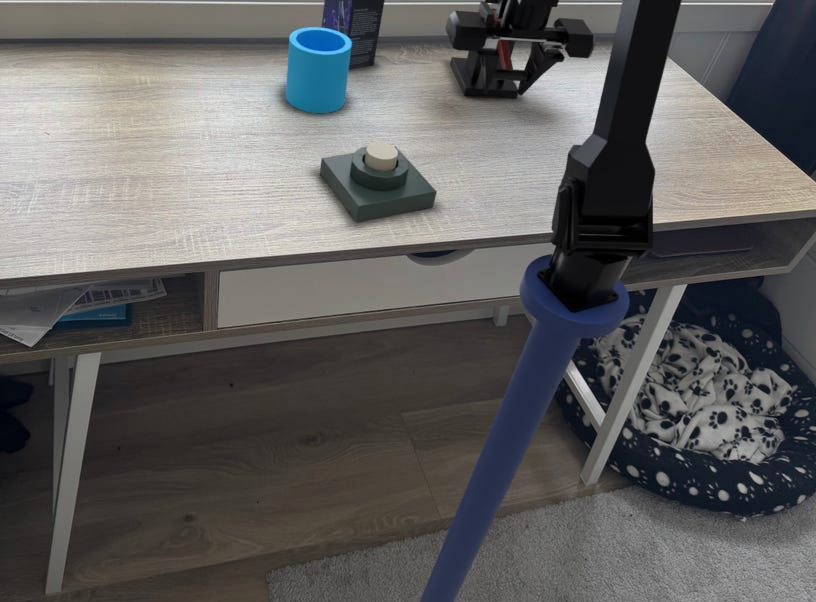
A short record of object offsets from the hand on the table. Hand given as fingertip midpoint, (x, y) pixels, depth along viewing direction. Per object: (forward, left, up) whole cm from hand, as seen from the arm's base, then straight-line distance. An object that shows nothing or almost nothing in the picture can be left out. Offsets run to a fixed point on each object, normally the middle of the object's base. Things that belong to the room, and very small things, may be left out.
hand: (502, 92), depth 102 cm
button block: (-13, +26, -3) cm, 29 cm away
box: (+20, +14, -3) cm, 25 cm away
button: (-13, +26, +1) cm, 29 cm away
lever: (+5, -2, +4) cm, 6 cm away
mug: (+11, +24, -3) cm, 27 cm away
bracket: (+8, -3, -3) cm, 9 cm away
